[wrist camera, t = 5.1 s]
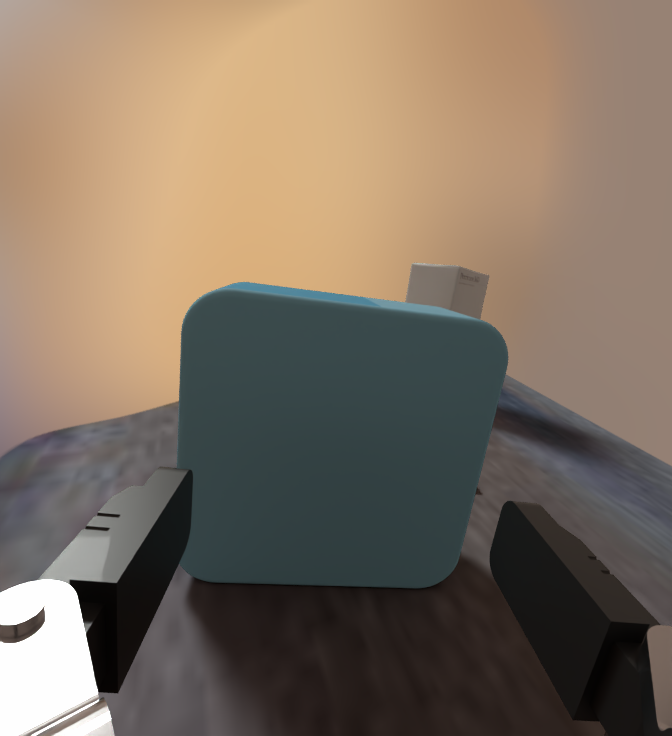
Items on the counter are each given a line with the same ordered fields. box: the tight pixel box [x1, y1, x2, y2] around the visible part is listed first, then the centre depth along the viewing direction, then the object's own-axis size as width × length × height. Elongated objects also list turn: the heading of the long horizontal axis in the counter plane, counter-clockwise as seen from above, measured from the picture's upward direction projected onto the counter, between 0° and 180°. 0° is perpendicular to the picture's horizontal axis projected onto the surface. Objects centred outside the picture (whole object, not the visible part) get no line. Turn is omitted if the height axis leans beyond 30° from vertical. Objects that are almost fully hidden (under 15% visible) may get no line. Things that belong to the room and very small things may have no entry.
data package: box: [177, 282, 508, 588], centre depth 17 cm, size 12×4×12 cm, turn 96°
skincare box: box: [405, 263, 489, 320], centre depth 45 cm, size 8×6×15 cm
